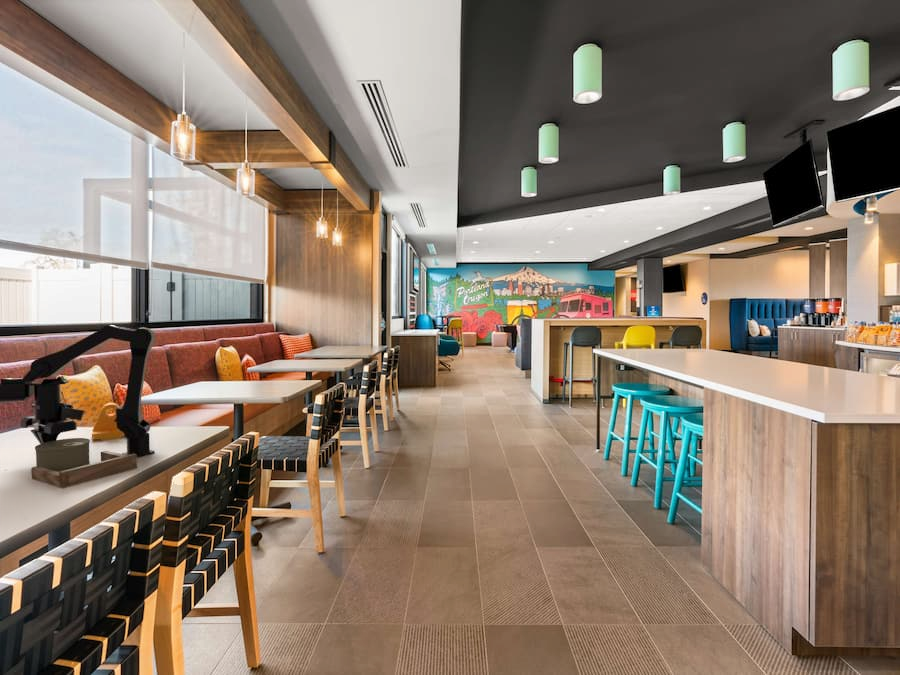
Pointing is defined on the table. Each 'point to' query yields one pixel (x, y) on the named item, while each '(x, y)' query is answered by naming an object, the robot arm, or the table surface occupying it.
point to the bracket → (107, 425)
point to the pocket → (86, 470)
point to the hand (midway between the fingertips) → (49, 452)
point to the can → (63, 454)
